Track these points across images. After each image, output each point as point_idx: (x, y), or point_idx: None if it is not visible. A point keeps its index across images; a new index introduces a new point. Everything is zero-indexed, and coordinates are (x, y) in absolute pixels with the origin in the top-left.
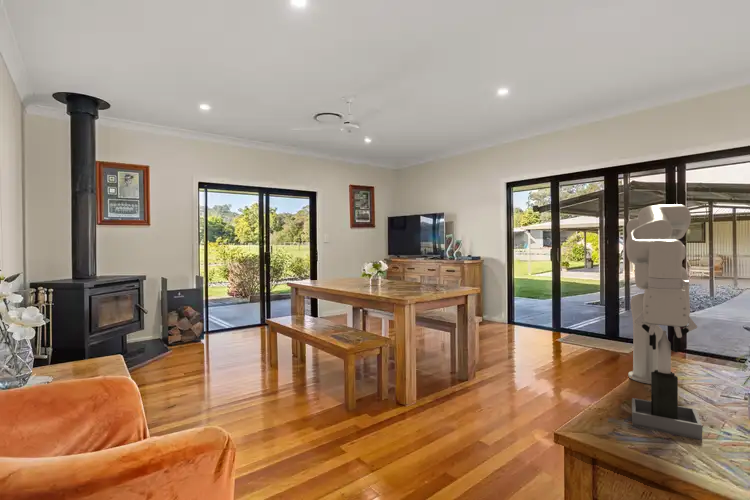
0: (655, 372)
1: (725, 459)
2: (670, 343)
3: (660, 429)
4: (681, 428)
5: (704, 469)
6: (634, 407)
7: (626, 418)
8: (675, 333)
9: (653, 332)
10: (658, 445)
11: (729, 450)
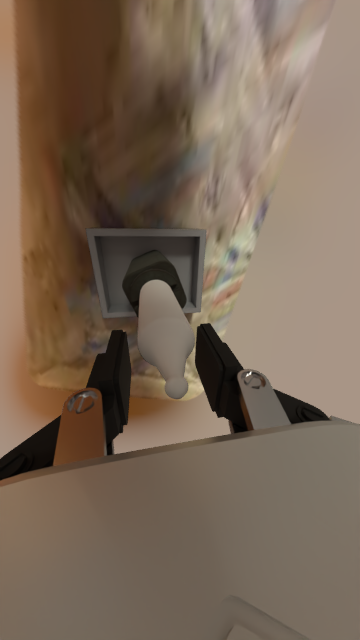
0: (133, 300)
1: None
2: (192, 349)
3: None
4: None
5: None
6: (101, 291)
7: (92, 280)
8: (234, 402)
9: (110, 449)
10: None
11: (218, 315)
